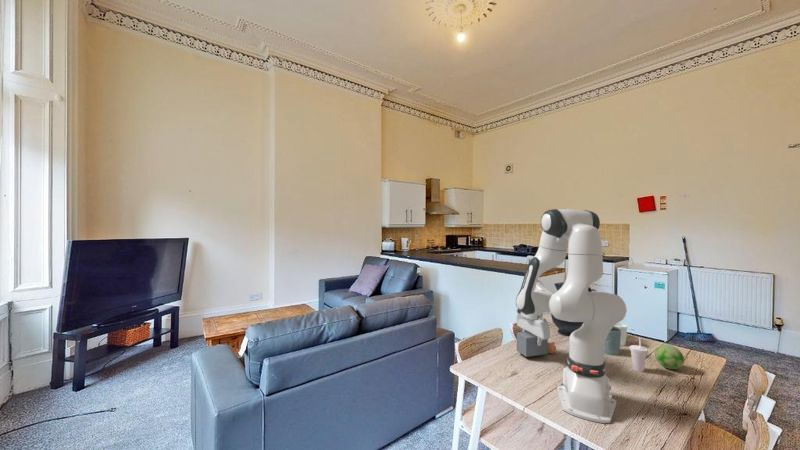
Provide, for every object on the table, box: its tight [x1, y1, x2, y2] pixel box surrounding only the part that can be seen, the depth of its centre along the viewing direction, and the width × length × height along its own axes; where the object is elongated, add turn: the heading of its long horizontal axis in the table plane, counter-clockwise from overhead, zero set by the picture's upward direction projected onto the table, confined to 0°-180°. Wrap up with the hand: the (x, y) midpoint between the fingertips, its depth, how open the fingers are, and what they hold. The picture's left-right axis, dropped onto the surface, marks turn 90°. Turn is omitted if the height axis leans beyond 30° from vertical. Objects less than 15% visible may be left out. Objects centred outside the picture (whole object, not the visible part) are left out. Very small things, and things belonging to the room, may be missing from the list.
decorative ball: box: [654, 344, 685, 370], centre depth 138 cm, size 10×10×10 cm
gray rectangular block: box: [516, 331, 549, 358], centre depth 150 cm, size 12×7×9 cm, turn 104°
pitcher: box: [550, 281, 593, 337], centre depth 178 cm, size 17×21×30 cm
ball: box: [548, 341, 557, 354], centre depth 153 cm, size 5×5×5 cm
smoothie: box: [629, 337, 649, 373], centre depth 136 cm, size 6×6×14 cm
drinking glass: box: [604, 326, 621, 356], centre depth 155 cm, size 10×10×12 cm
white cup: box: [615, 322, 628, 347], centre depth 165 cm, size 8×8×10 cm
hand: (532, 341), depth 150 cm, fingers closed on gray rectangular block, 7 cm apart
